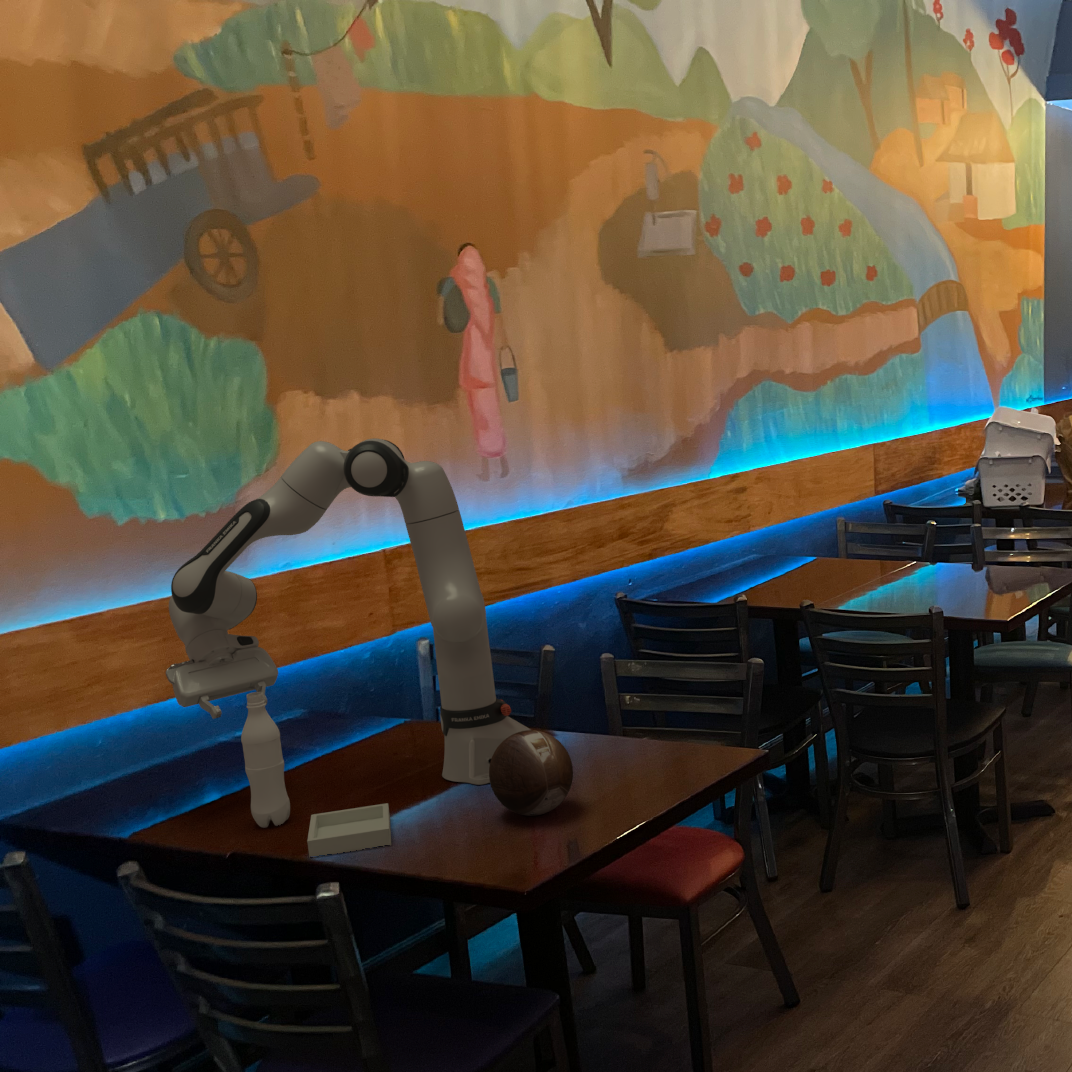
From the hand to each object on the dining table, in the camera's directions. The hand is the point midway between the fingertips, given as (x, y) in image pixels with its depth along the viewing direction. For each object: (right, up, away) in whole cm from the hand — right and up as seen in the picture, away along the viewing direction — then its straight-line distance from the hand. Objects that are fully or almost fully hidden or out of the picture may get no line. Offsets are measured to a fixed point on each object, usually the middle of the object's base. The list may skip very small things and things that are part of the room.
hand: (240, 710), depth 232 cm
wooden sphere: (+57, -16, -15) cm, 61 cm away
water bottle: (+7, -21, -4) cm, 22 cm away
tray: (+24, -20, -17) cm, 36 cm away
